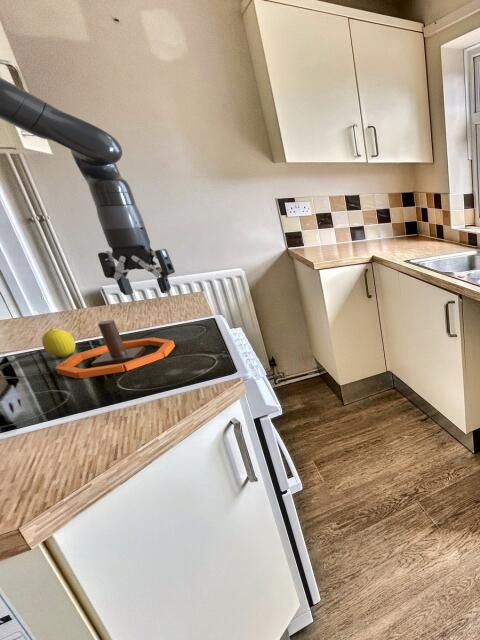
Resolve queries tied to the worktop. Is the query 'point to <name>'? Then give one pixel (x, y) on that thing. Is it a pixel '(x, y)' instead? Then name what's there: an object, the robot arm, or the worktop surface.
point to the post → (115, 347)
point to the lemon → (58, 343)
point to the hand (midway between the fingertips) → (147, 293)
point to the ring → (71, 371)
